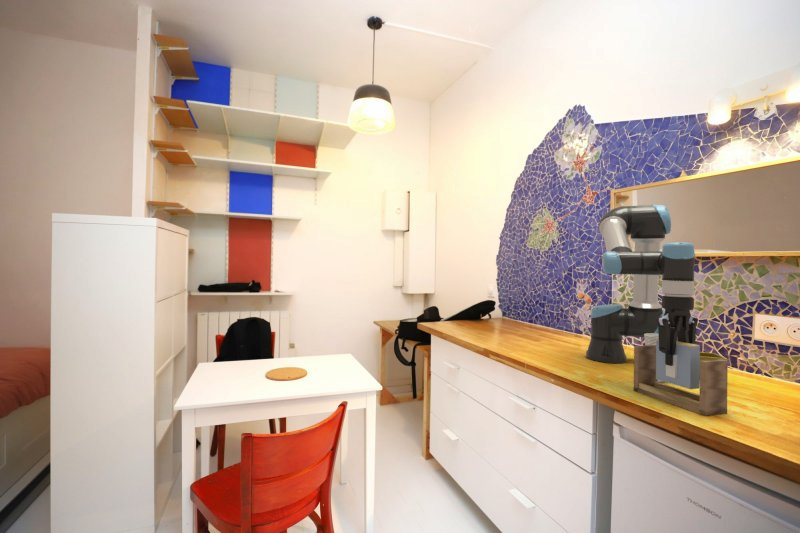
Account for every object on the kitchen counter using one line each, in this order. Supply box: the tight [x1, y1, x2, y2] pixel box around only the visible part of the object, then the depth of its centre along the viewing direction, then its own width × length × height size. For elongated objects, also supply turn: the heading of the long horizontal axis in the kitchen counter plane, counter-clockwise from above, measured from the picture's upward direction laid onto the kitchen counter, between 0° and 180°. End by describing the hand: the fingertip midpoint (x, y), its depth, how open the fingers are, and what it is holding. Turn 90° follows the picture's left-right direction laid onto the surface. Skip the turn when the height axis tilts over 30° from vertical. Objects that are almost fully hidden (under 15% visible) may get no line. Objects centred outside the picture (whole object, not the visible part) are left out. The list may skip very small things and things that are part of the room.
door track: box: [633, 344, 729, 417], centre depth 108 cm, size 8×21×14 cm, turn 17°
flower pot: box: [699, 351, 728, 381], centre depth 130 cm, size 9×9×9 cm
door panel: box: [656, 339, 701, 390], centre depth 108 cm, size 4×10×12 cm, turn 17°
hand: (676, 376), depth 108 cm, fingers closed on door panel, 3 cm apart
